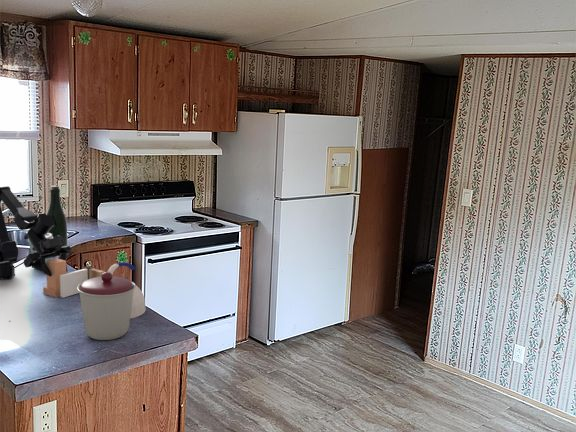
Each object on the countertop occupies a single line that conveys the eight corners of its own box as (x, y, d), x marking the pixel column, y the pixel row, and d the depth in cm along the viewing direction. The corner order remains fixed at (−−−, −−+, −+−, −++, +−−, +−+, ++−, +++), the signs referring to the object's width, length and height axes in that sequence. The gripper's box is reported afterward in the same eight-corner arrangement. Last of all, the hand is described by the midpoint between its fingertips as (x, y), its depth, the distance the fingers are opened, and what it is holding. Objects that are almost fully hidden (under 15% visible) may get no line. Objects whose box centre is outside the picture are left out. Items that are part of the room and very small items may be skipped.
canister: (114, 320, 202) (114, 261, 198) (147, 334, 190) (147, 273, 186) (66, 333, 188) (65, 271, 184) (98, 350, 177) (97, 284, 173)
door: (82, 288, 231) (82, 267, 229) (87, 290, 230) (87, 269, 228) (58, 296, 221) (57, 274, 219) (63, 297, 220) (62, 276, 218)
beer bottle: (40, 254, 278) (38, 186, 272) (51, 249, 288) (50, 183, 282) (61, 256, 277) (59, 188, 271) (71, 251, 287) (70, 185, 281)
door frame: (104, 292, 229) (104, 268, 227) (99, 294, 227) (99, 269, 225) (67, 282, 239) (66, 259, 237) (62, 283, 237) (62, 260, 235)
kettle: (74, 315, 204) (74, 266, 201) (111, 298, 223) (111, 253, 220) (123, 325, 198) (123, 274, 194) (156, 307, 217) (157, 260, 213)
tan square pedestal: (43, 293, 224) (42, 261, 222) (58, 289, 230) (57, 257, 228) (55, 297, 221) (54, 264, 219) (70, 292, 227) (69, 260, 225)
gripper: (27, 233, 215) (48, 267, 212) (68, 225, 231) (88, 257, 228) (14, 250, 220) (34, 283, 217) (55, 241, 236) (74, 272, 233)
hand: (59, 273), depth 223 cm, fingers open, 7 cm apart
